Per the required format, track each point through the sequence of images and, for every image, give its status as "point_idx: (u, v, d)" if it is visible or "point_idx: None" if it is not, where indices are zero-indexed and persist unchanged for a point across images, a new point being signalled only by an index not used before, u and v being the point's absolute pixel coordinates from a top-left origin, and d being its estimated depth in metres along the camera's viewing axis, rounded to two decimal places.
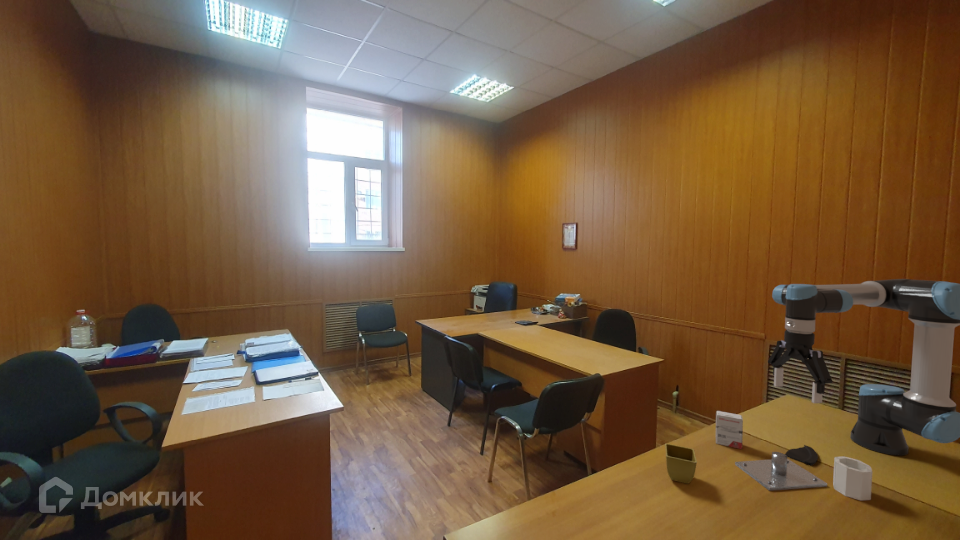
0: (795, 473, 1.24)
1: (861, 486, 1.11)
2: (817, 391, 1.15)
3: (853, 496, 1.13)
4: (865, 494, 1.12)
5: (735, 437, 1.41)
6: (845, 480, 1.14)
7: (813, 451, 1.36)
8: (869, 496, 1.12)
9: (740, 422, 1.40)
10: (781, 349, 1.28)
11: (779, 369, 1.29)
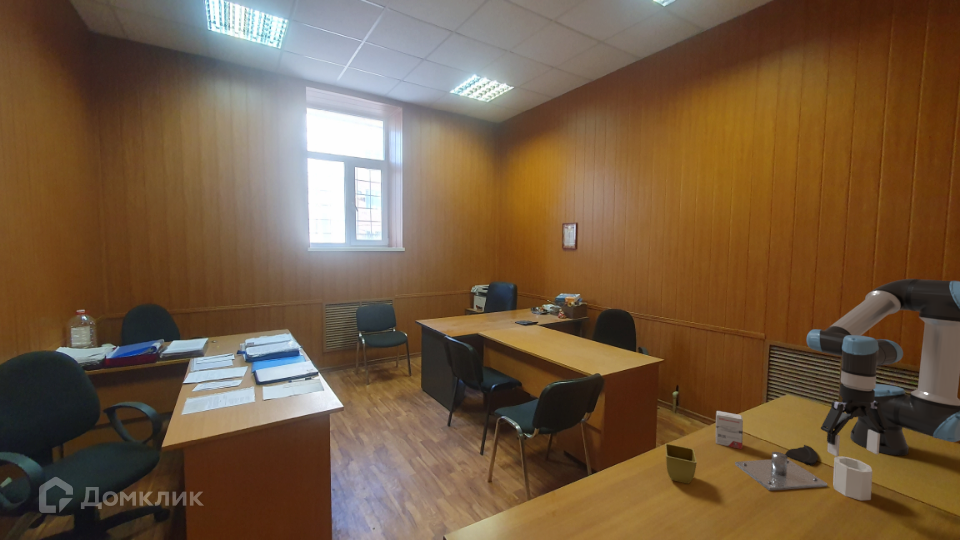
0: (795, 473, 1.24)
1: (861, 486, 1.11)
2: None
3: (853, 496, 1.13)
4: (865, 494, 1.12)
5: (735, 437, 1.41)
6: (845, 480, 1.14)
7: (813, 451, 1.37)
8: (869, 496, 1.12)
9: (740, 422, 1.40)
10: (873, 410, 1.14)
11: (872, 432, 1.15)
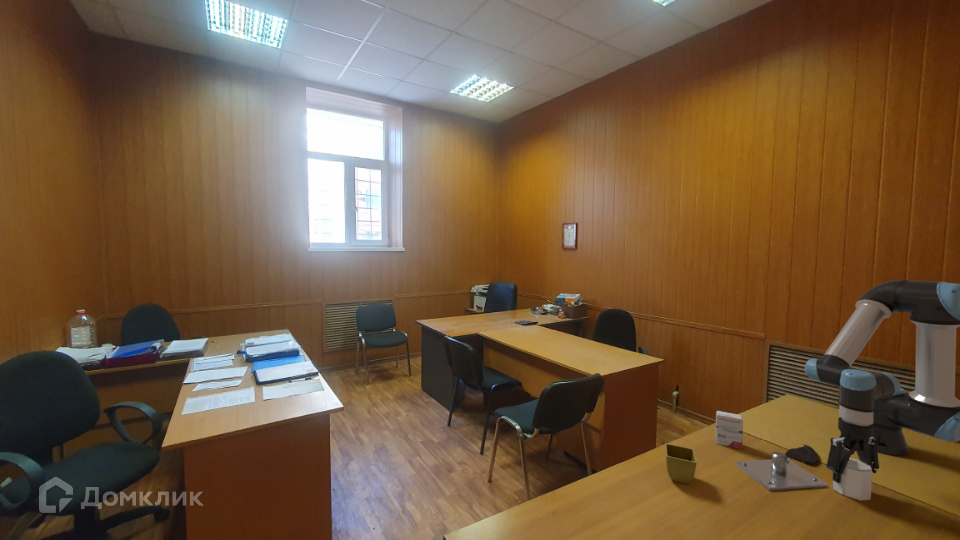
0: (795, 473, 1.24)
1: (861, 486, 1.11)
2: None
3: (853, 496, 1.13)
4: (865, 494, 1.12)
5: (735, 437, 1.41)
6: (845, 480, 1.14)
7: (813, 451, 1.37)
8: (869, 496, 1.12)
9: (740, 422, 1.40)
10: (869, 446, 1.15)
11: None
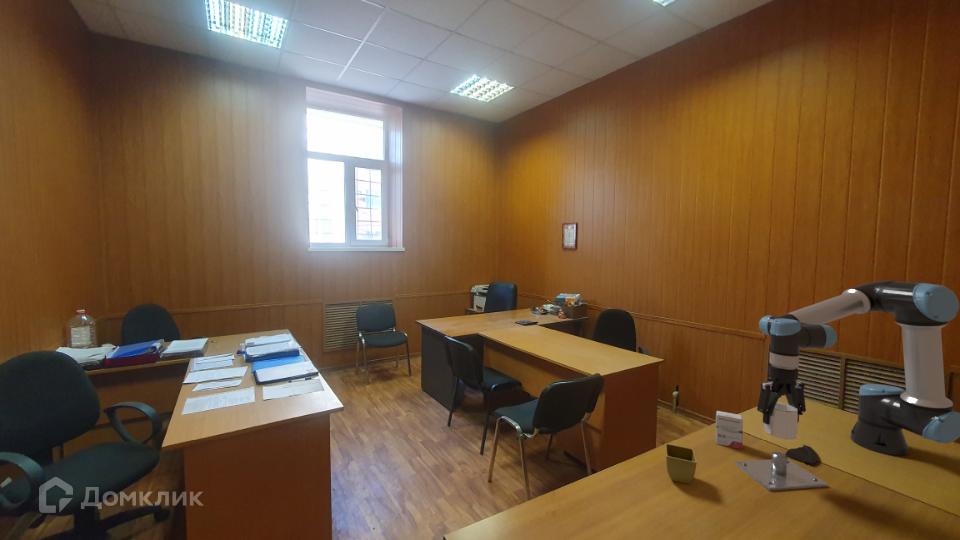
0: (795, 473, 1.24)
1: (787, 426, 1.19)
2: None
3: (780, 436, 1.20)
4: (791, 433, 1.19)
5: (735, 437, 1.41)
6: (773, 421, 1.21)
7: (812, 451, 1.37)
8: (795, 435, 1.19)
9: (740, 422, 1.40)
10: (797, 391, 1.23)
11: None
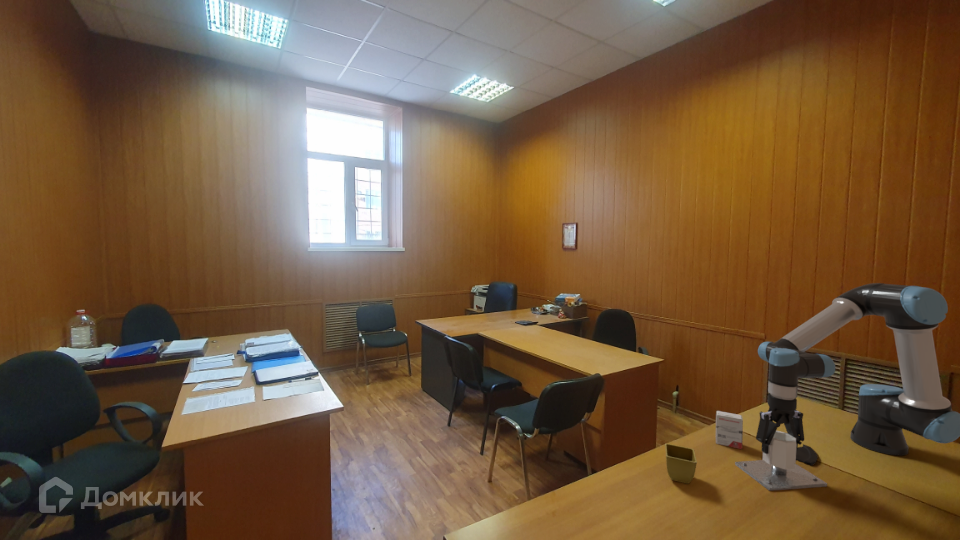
0: (795, 473, 1.24)
1: (786, 456, 1.20)
2: None
3: (779, 465, 1.21)
4: (789, 463, 1.20)
5: (735, 437, 1.41)
6: (772, 451, 1.22)
7: (812, 450, 1.37)
8: (793, 465, 1.20)
9: (740, 422, 1.40)
10: (795, 420, 1.24)
11: None
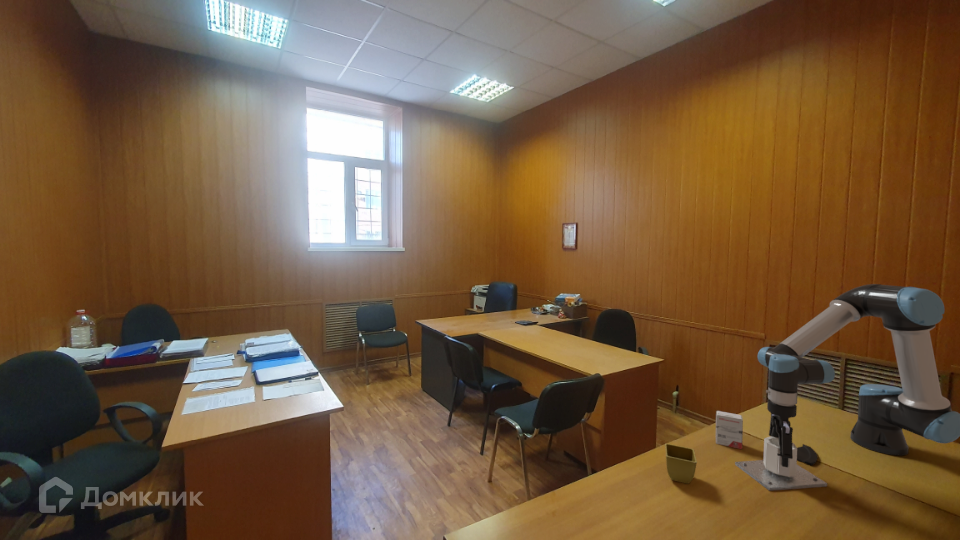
0: None
1: (796, 461, 1.21)
2: (781, 463, 1.20)
3: (792, 473, 1.21)
4: None
5: (735, 437, 1.41)
6: None
7: (812, 450, 1.37)
8: None
9: (740, 422, 1.40)
10: None
11: None
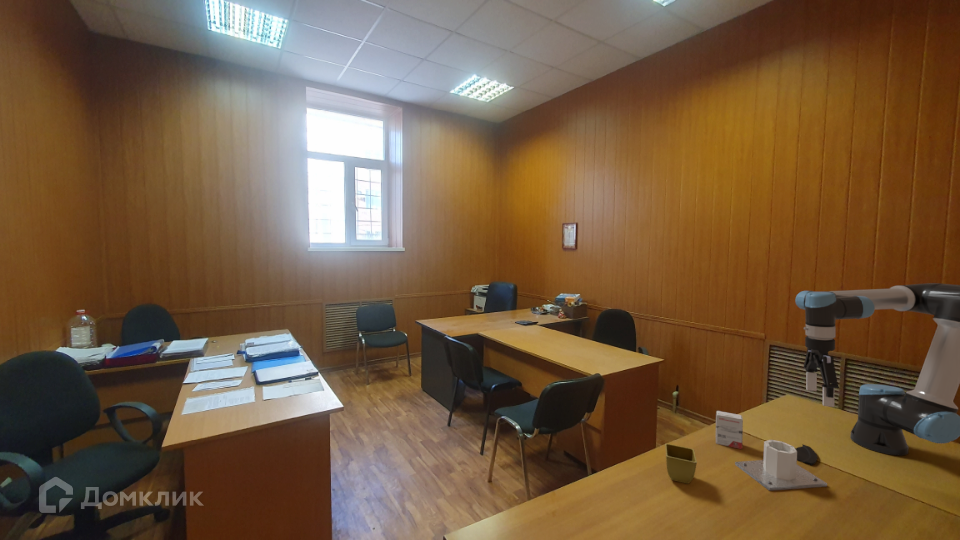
0: None
1: (796, 465, 1.21)
2: (826, 394, 1.20)
3: (792, 477, 1.21)
4: None
5: (735, 437, 1.41)
6: (788, 465, 1.20)
7: (812, 450, 1.37)
8: None
9: (740, 422, 1.40)
10: None
11: (811, 373, 1.33)
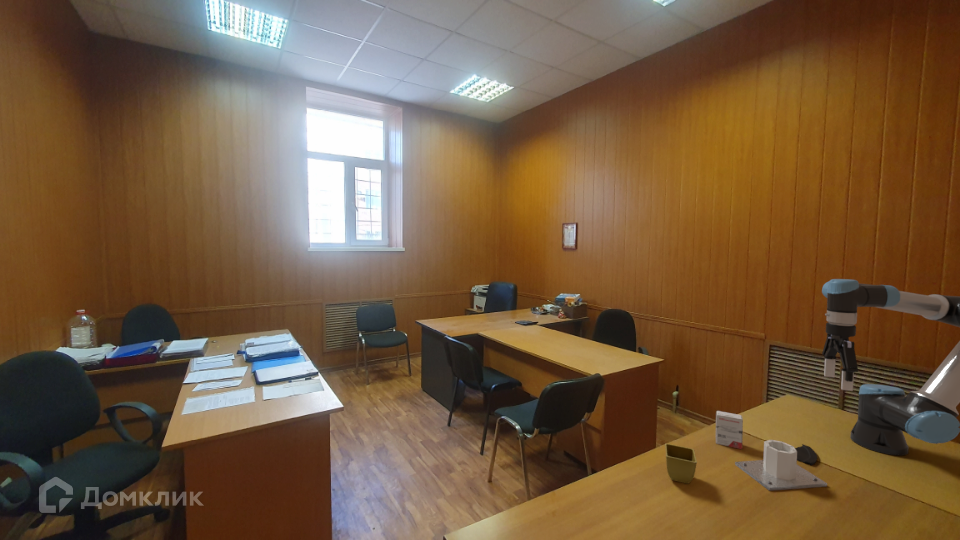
0: None
1: (796, 465, 1.21)
2: (845, 379, 1.23)
3: (792, 477, 1.21)
4: None
5: (735, 437, 1.41)
6: (788, 465, 1.20)
7: (812, 450, 1.37)
8: None
9: (740, 422, 1.40)
10: None
11: (829, 360, 1.35)
